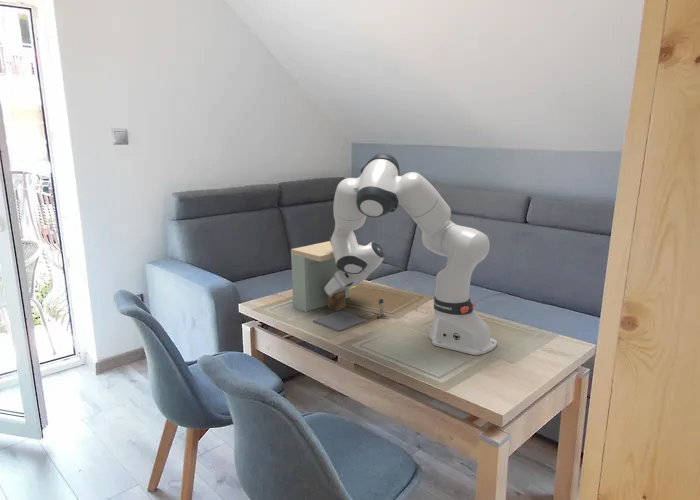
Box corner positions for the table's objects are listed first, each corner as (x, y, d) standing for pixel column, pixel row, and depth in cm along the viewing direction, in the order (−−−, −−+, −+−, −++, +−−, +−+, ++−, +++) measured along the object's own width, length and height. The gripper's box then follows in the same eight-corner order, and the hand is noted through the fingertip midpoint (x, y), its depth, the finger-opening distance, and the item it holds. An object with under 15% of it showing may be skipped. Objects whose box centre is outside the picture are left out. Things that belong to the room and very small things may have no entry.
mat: (366, 321, 185) (366, 319, 185) (339, 331, 175) (339, 330, 175) (340, 312, 195) (340, 310, 195) (312, 321, 185) (312, 320, 185)
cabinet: (364, 302, 206) (364, 245, 200) (321, 317, 189) (319, 256, 184) (336, 293, 217) (335, 239, 212) (293, 307, 201) (291, 249, 195)
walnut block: (345, 306, 201) (345, 280, 198) (337, 310, 197) (337, 283, 194) (336, 304, 204) (335, 278, 201) (328, 307, 200) (327, 281, 197)
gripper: (365, 261, 200) (347, 280, 208) (333, 272, 184) (314, 293, 192) (374, 274, 198) (355, 292, 206) (342, 286, 183) (323, 306, 191)
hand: (335, 293), depth 199 cm, fingers closed on walnut block, 5 cm apart
